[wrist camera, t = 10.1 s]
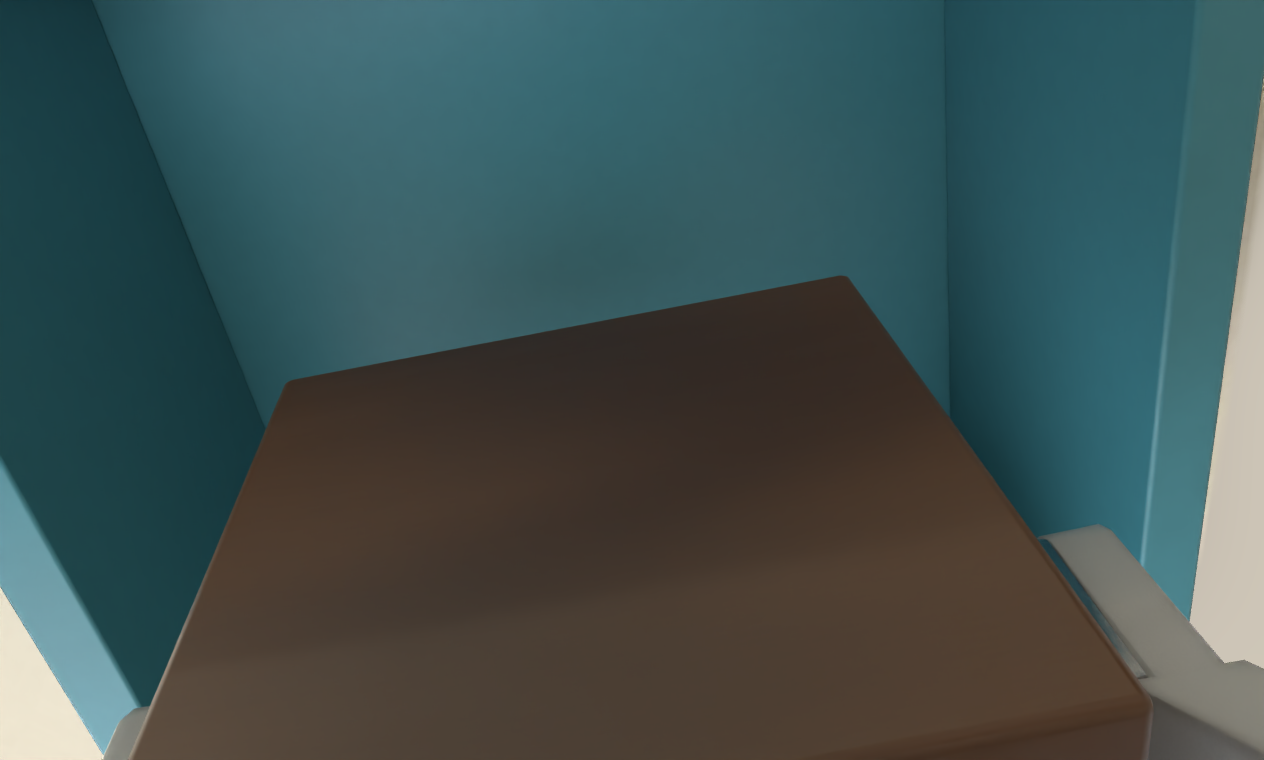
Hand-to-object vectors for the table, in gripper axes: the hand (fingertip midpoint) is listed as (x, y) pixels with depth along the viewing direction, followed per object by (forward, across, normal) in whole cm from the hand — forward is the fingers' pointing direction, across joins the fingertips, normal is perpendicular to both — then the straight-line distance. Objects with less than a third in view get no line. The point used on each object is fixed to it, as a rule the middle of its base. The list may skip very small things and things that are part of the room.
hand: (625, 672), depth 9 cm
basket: (+11, 0, 0) cm, 11 cm away
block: (+2, 0, 0) cm, 2 cm away
